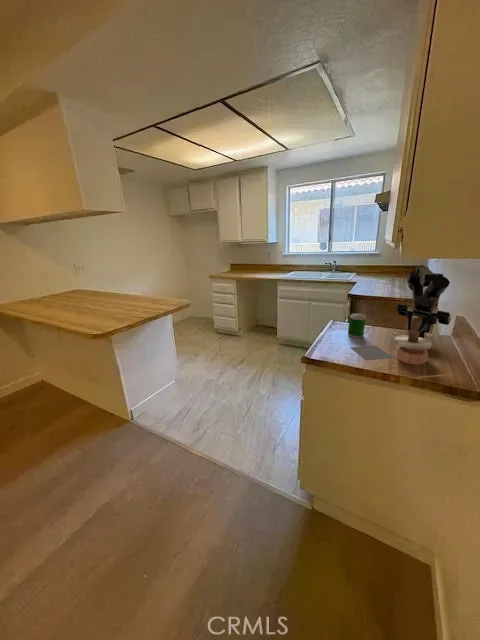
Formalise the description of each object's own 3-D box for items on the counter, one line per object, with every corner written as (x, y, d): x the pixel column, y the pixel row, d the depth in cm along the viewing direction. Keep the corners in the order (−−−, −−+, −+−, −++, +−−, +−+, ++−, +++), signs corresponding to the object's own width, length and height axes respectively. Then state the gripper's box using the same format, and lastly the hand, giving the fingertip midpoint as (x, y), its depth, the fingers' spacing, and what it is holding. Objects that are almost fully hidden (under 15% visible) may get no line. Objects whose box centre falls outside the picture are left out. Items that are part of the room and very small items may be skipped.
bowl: (389, 354, 118) (391, 345, 116) (412, 352, 119) (414, 343, 118) (407, 366, 107) (409, 356, 106) (432, 364, 109) (434, 354, 107)
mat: (349, 348, 125) (349, 347, 125) (375, 346, 126) (375, 345, 126) (365, 361, 112) (365, 360, 112) (393, 359, 114) (393, 357, 114)
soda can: (361, 340, 134) (364, 317, 130) (345, 337, 138) (348, 315, 134) (364, 335, 139) (367, 314, 135) (350, 332, 144) (352, 311, 140)
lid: (387, 338, 117) (392, 313, 113) (415, 336, 118) (420, 311, 114) (408, 350, 104) (414, 323, 101) (439, 348, 106) (445, 321, 102)
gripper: (401, 285, 113) (385, 315, 110) (455, 292, 99) (438, 326, 96) (406, 299, 120) (391, 328, 117) (456, 308, 106) (441, 340, 103)
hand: (413, 330), depth 108 cm, fingers closed on lid, 4 cm apart
